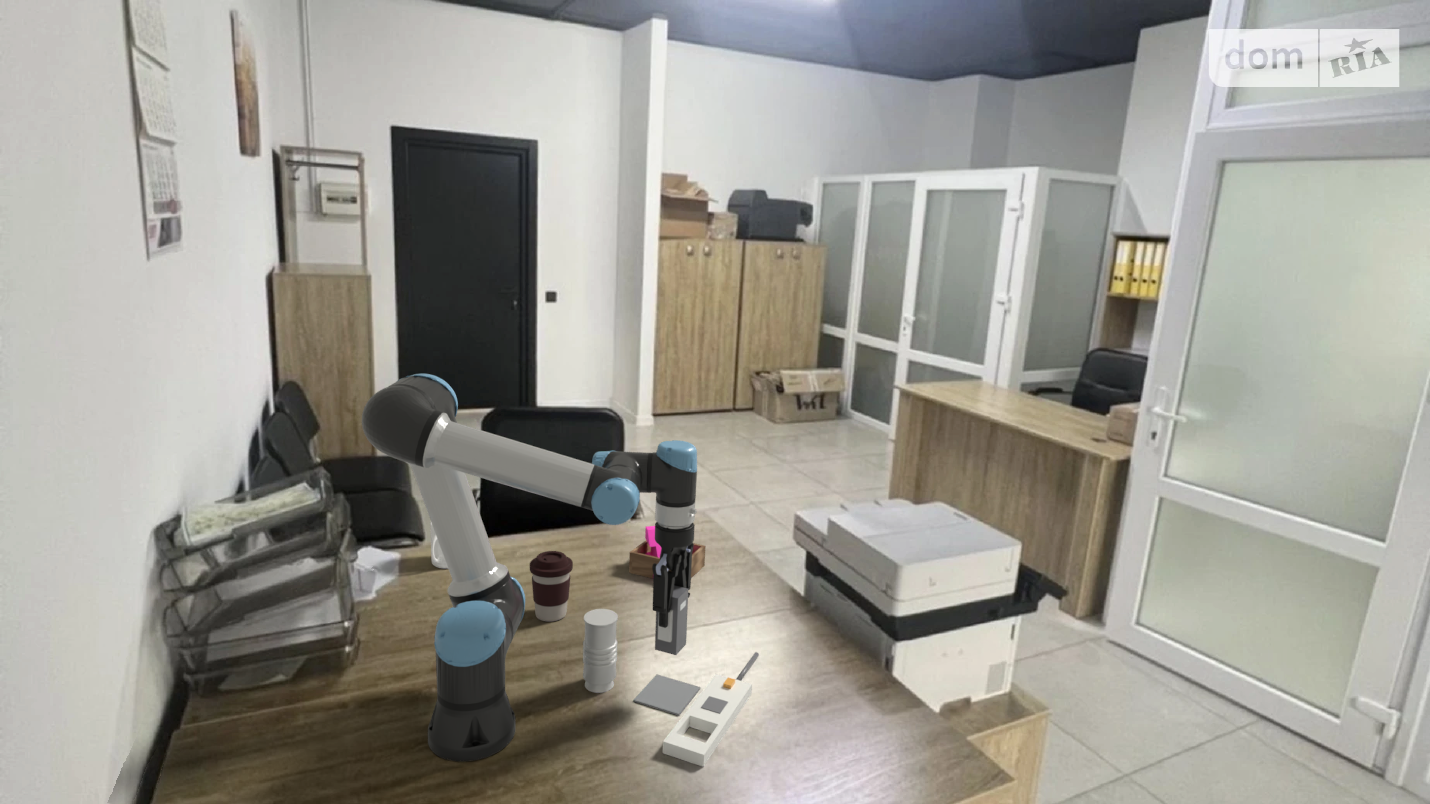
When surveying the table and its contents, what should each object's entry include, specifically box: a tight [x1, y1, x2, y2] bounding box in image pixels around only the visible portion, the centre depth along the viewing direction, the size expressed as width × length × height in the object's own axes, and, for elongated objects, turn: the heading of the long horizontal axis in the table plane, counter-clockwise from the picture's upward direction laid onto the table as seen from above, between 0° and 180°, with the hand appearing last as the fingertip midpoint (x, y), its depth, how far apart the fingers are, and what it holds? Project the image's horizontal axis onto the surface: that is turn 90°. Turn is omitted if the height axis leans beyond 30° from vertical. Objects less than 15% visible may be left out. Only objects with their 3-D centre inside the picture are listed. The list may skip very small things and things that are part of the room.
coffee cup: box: [529, 550, 574, 623], centre depth 181 cm, size 10×10×15 cm
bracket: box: [644, 525, 662, 558], centre depth 209 cm, size 12×10×10 cm
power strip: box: [662, 651, 760, 768], centre depth 152 cm, size 38×8×3 cm, turn 157°
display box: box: [628, 540, 706, 580], centre depth 209 cm, size 14×16×6 cm
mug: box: [429, 521, 449, 570], centre depth 205 cm, size 10×12×12 cm
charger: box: [654, 585, 689, 656], centre depth 150 cm, size 5×5×12 cm
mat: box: [633, 673, 701, 717], centre depth 153 cm, size 10×10×1 cm
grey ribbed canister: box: [582, 608, 619, 694], centre depth 154 cm, size 7×7×15 cm
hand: (670, 633), depth 150 cm, fingers closed on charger, 5 cm apart
